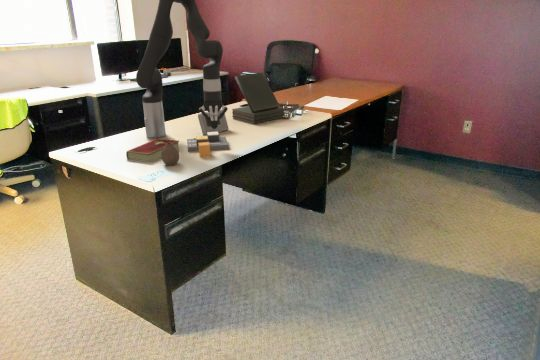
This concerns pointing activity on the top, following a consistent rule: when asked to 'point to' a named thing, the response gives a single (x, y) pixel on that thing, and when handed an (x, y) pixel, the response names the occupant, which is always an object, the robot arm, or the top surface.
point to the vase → (170, 154)
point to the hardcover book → (150, 150)
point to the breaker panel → (213, 144)
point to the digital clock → (206, 123)
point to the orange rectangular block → (204, 149)
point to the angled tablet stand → (257, 100)
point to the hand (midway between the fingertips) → (214, 128)
